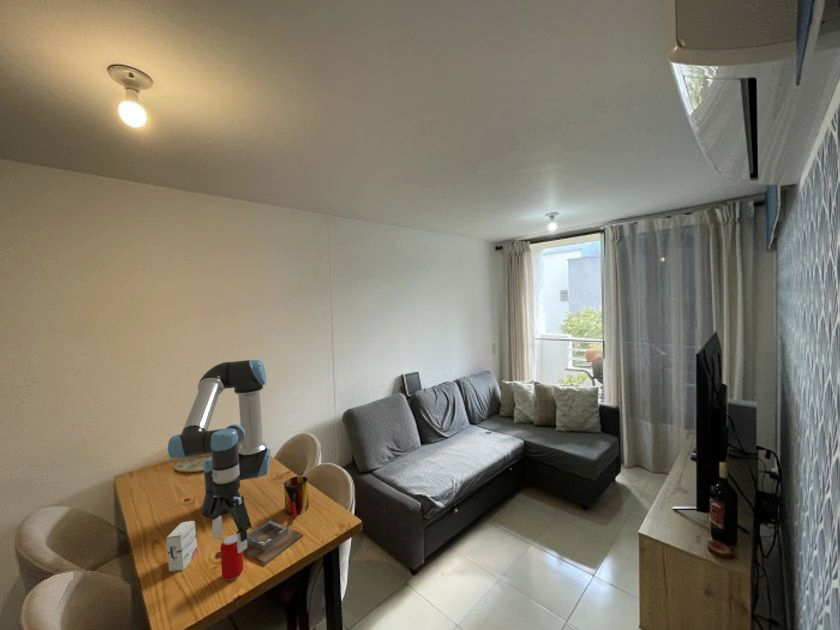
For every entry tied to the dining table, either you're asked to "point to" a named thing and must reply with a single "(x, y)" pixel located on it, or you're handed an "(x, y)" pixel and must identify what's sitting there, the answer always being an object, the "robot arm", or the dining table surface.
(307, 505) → the mug
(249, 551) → the walnut plate
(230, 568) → the beverage can
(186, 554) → the ink box
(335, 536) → the dining table surface
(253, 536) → the steel collar
